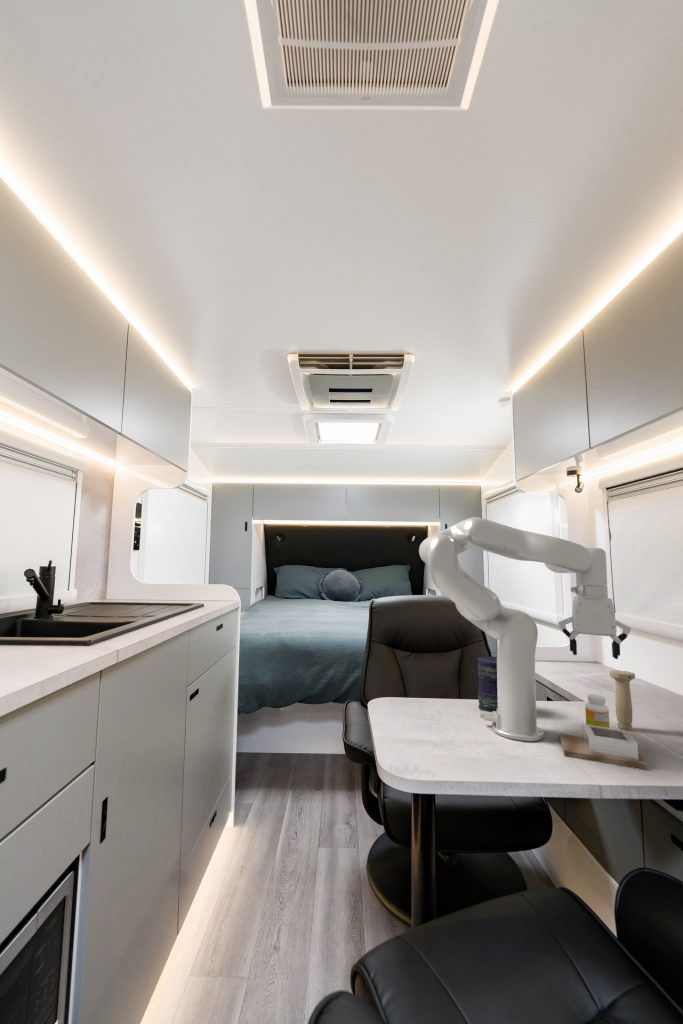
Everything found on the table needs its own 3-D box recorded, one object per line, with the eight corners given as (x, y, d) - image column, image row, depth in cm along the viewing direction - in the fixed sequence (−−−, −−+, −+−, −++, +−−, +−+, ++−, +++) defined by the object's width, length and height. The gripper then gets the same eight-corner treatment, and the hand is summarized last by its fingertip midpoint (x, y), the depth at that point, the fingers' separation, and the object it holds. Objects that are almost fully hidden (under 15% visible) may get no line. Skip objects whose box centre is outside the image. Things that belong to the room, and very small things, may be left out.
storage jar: (509, 717, 124) (508, 664, 126) (475, 711, 129) (474, 659, 131) (514, 708, 132) (513, 659, 135) (481, 702, 137) (481, 655, 139)
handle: (642, 731, 116) (638, 674, 119) (623, 732, 115) (620, 674, 117) (626, 725, 121) (623, 670, 123) (608, 726, 120) (605, 670, 122)
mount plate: (564, 756, 98) (564, 750, 98) (559, 738, 109) (558, 733, 109) (647, 770, 92) (647, 764, 92) (632, 749, 103) (632, 744, 103)
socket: (589, 752, 97) (588, 736, 98) (582, 738, 106) (582, 723, 107) (638, 761, 94) (637, 744, 94) (627, 745, 103) (626, 730, 103)
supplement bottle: (584, 729, 116) (582, 692, 117) (606, 732, 114) (604, 694, 116) (589, 736, 111) (587, 697, 112) (612, 739, 109) (610, 700, 111)
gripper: (558, 591, 118) (560, 655, 115) (632, 594, 111) (636, 662, 109) (555, 590, 125) (557, 650, 122) (625, 593, 118) (628, 657, 116)
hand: (594, 656), depth 116 cm, fingers open, 9 cm apart
